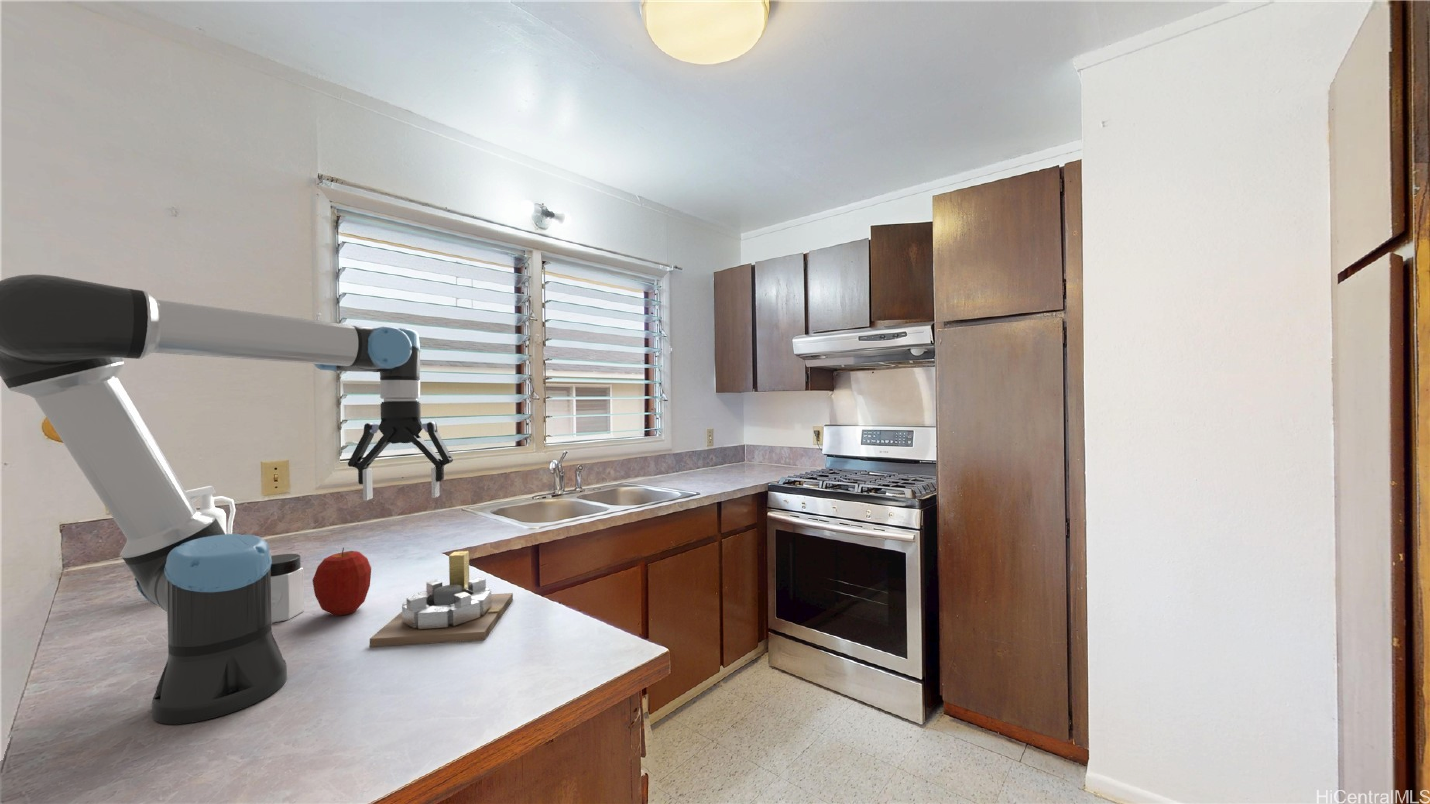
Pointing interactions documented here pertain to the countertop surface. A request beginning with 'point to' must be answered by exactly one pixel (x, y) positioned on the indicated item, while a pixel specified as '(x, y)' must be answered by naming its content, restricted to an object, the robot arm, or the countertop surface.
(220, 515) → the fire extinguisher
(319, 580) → the apple
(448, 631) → the board
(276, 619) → the jar
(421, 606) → the white blocky ring
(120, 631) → the countertop surface
